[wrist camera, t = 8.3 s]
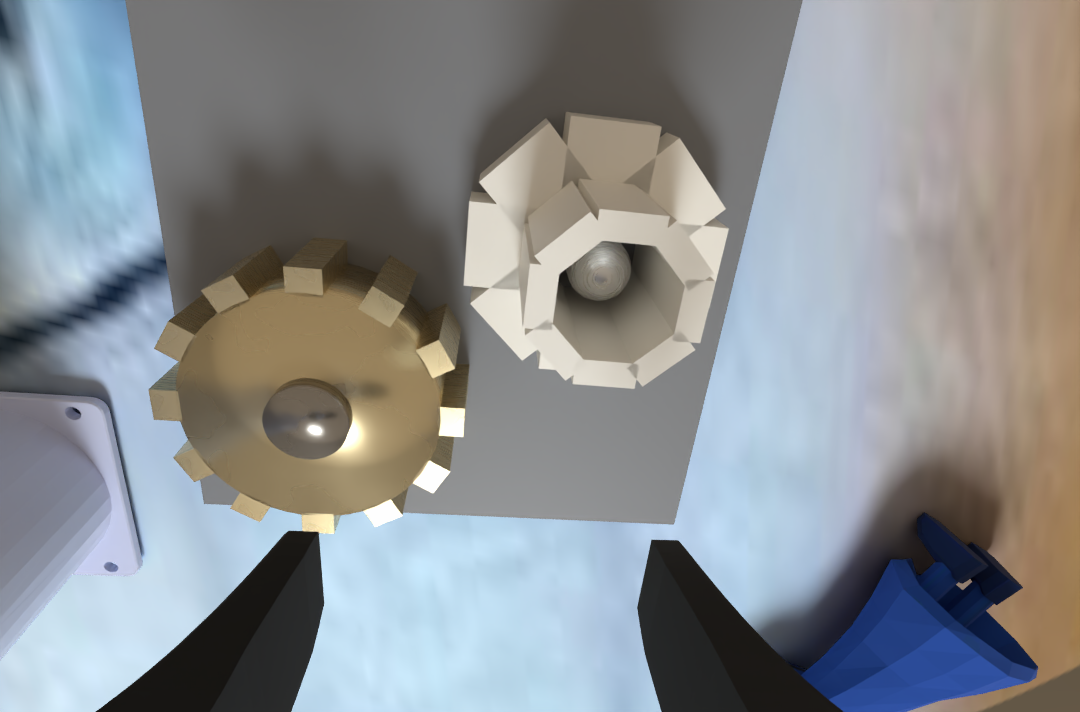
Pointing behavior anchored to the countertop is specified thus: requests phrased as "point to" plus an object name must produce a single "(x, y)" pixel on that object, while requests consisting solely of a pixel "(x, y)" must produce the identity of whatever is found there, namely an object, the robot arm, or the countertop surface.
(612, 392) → the carrier plate
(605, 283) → the carrier pin
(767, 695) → the robot arm
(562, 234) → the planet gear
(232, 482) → the sun gear
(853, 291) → the countertop surface
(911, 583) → the toy
